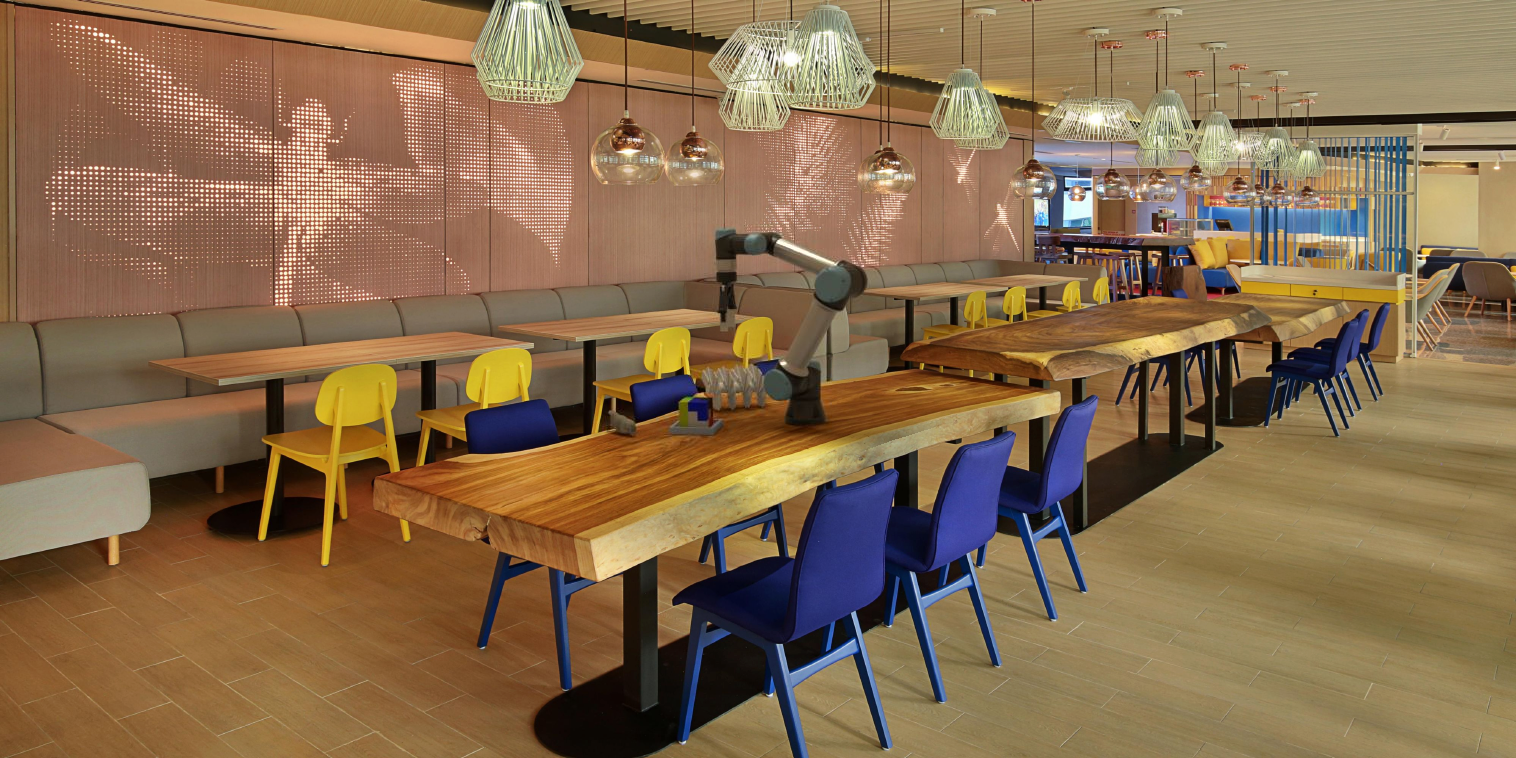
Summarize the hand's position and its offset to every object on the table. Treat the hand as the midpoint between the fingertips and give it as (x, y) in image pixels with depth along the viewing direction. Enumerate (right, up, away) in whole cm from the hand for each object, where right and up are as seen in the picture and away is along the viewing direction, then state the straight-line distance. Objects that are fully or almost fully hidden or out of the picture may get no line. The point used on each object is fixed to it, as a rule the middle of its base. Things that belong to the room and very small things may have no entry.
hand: (727, 329), depth 378 cm
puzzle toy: (-11, -36, -8) cm, 38 cm away
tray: (-11, -37, -8) cm, 39 cm away
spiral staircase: (+3, -30, +30) cm, 43 cm away
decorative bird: (-37, -38, -12) cm, 55 cm away
